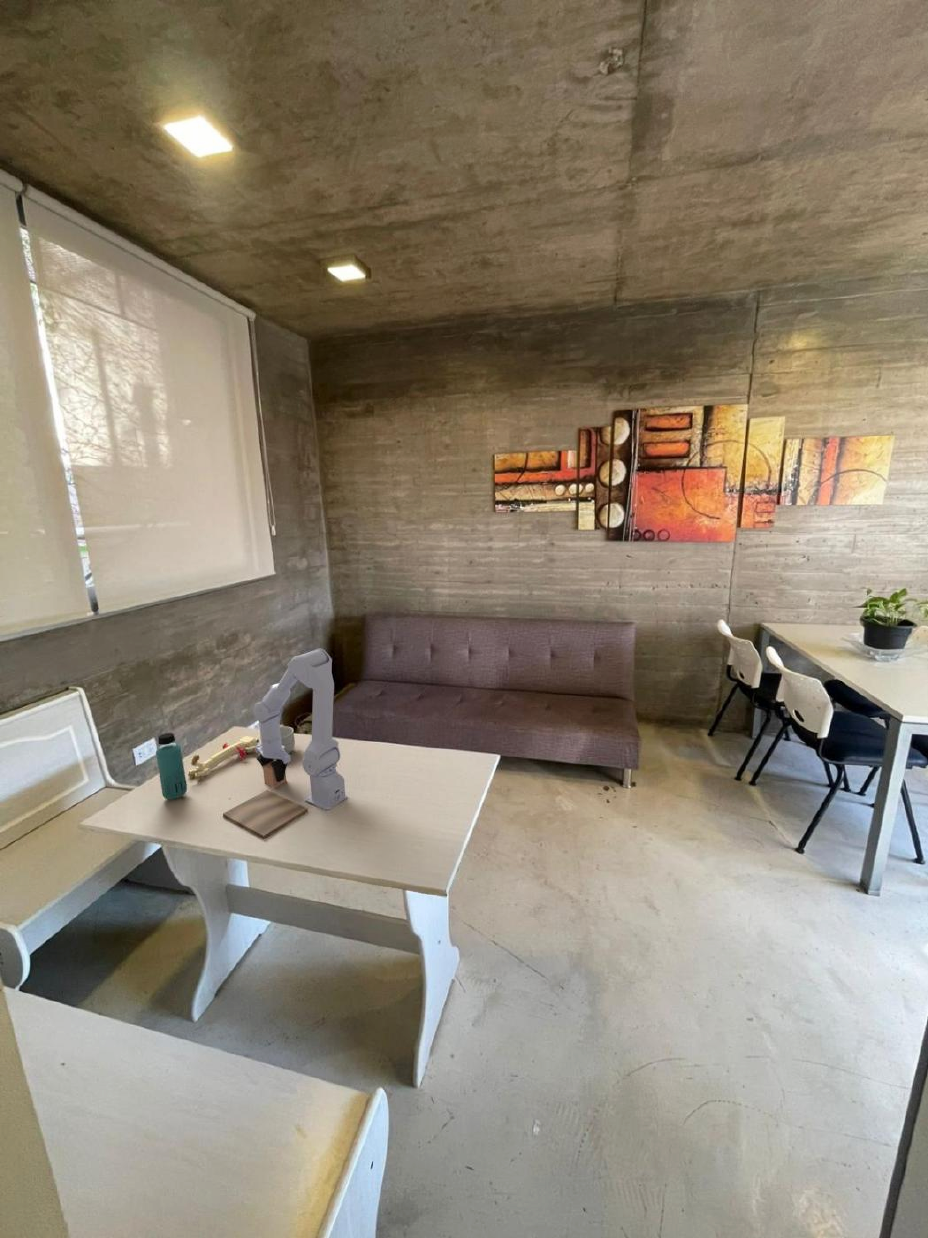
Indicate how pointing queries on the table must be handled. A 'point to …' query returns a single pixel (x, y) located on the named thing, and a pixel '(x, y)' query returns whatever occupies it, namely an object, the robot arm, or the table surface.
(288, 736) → the teacup
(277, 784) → the block
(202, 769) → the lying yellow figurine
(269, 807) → the board
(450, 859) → the table surface
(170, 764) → the beverage bottle
